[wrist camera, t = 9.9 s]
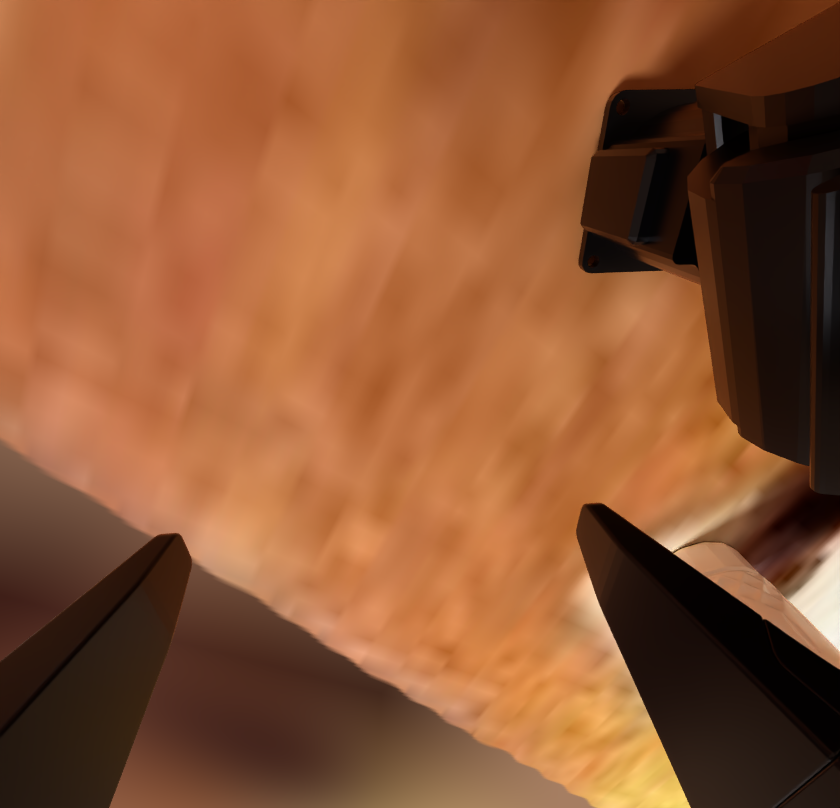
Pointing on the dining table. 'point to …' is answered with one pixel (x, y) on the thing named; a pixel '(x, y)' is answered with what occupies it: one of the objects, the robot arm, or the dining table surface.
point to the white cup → (756, 594)
